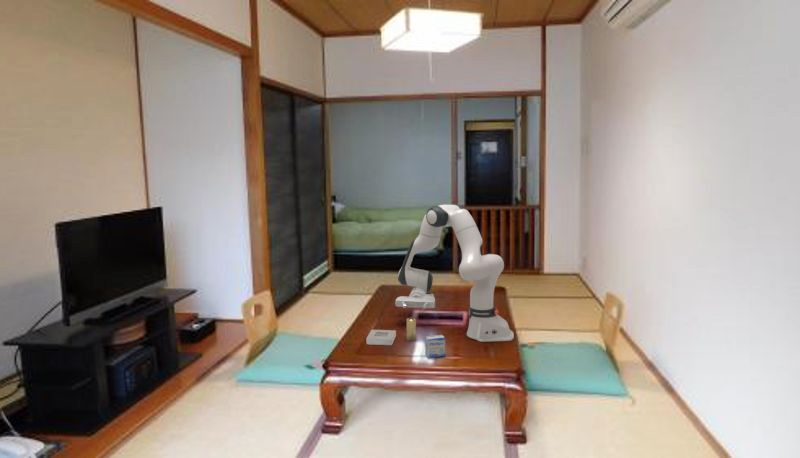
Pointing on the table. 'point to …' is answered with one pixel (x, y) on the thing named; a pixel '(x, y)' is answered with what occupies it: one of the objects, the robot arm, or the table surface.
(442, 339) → the medicine box
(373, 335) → the aluminium jig
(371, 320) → the table surface
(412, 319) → the brass bushing
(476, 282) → the robot arm
